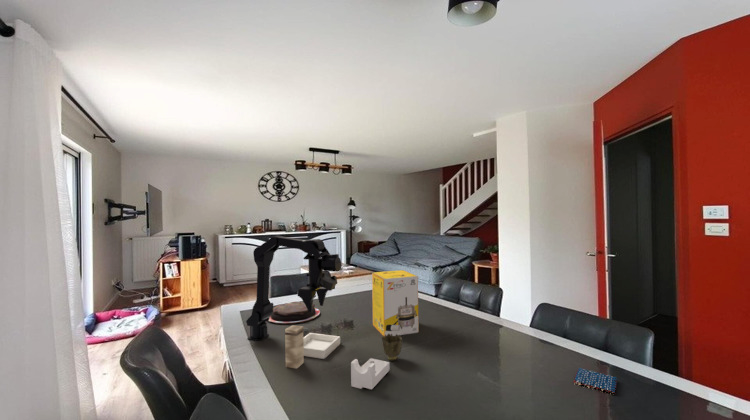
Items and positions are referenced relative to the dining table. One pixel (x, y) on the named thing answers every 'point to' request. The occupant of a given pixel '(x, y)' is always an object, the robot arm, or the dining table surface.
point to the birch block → (294, 346)
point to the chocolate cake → (292, 313)
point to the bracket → (368, 373)
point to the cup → (392, 346)
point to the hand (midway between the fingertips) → (316, 308)
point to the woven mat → (595, 380)
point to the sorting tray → (319, 345)
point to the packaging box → (395, 302)
